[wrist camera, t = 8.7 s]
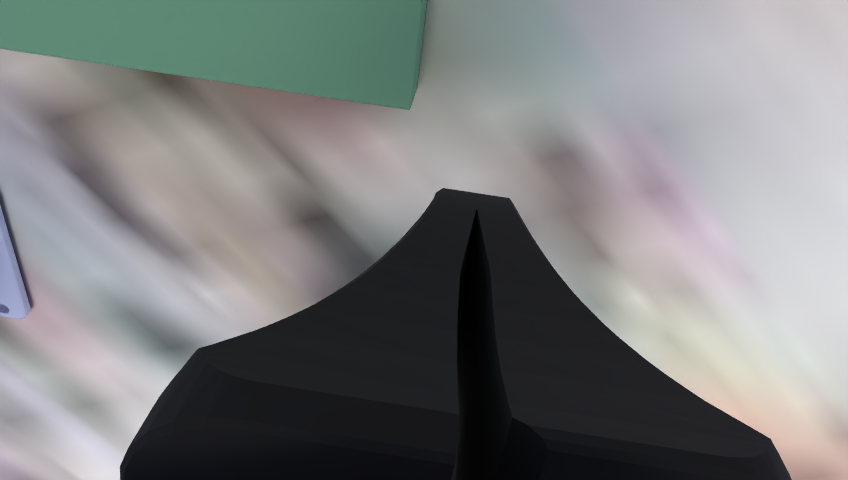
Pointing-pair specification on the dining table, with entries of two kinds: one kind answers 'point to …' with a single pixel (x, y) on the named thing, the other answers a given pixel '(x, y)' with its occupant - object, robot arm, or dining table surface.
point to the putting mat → (237, 41)
